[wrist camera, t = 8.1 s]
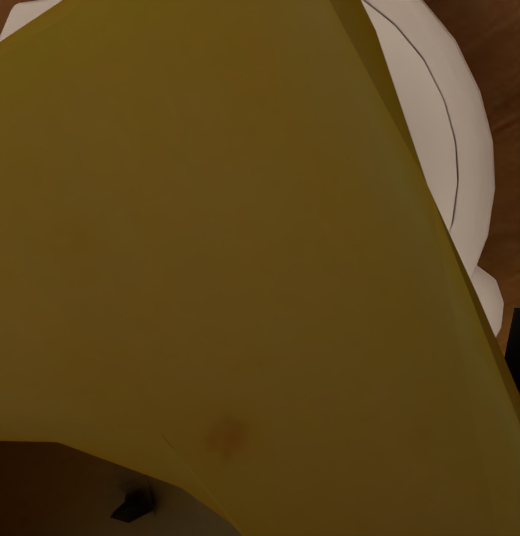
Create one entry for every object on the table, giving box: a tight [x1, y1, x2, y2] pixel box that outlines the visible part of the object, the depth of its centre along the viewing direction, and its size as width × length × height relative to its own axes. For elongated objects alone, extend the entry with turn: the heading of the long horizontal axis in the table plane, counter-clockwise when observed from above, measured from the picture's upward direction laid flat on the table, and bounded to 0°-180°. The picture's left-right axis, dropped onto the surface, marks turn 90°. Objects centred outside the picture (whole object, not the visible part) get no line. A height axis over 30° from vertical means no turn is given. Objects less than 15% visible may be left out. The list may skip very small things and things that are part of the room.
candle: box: [0, 0, 520, 536], centre depth 10 cm, size 10×10×10 cm
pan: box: [0, 0, 504, 338], centre depth 25 cm, size 24×27×4 cm
